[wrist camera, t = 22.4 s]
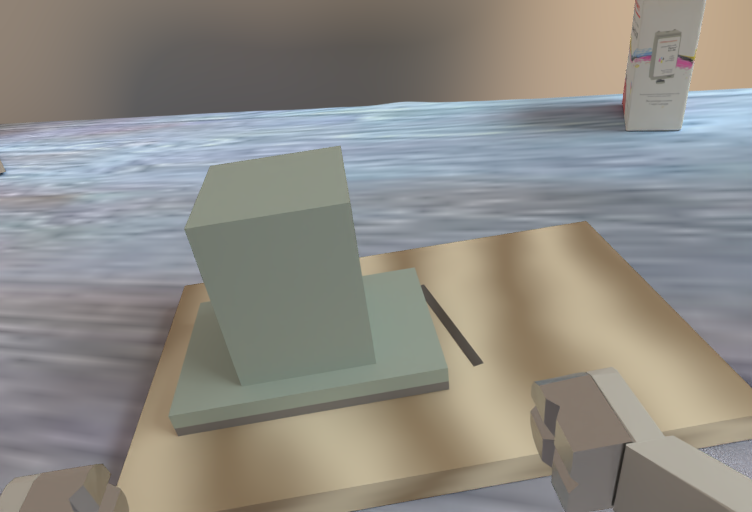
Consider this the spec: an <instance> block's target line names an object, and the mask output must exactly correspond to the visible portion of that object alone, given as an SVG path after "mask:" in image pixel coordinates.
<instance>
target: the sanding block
mask: <svg viewBox="0 0 752 512" xmlns="http://www.w3.org/2000/svg"><path fill="white" fill-rule="evenodd" d="M185 232H186V235H187V237H188V240H189V243H190V246H191V248H192V251H193V254H194V257H195V259H196V262H197V265H198V268H199V271H200V273H201V276H202V279H203V282H204V284H205V287H206V290H207V293H208V295H209V298H210V301H209V302H203V303H200V306H199V310H198V313H197V317H196V320H195V324H194V327H193V331H192V334H191V338H190V341H189V345H188V348H187V352H186V355H185V359H184V362H183V366H182V370H181V373H180V377H179V380H178V384H177V387H176V391H175V394H174V398H173V401H172V405H171V408H170V412H169V415H168V417H169V419H170V421H171V423H172V425H173V427H174V429H175V431H176V433H177V435H178V436H183V435H189V434H195V433H201V432H206V431H212V430H218V429H224V428H229V427H235V426H241V425H247V424H252V423H258V422H264V421H269V420H275V419H281V418H287V417H292V416H298V415H304V414H310V413H315V412H321V411H327V410H333V409H338V408H344V407H350V406H356V405H361V404H367V403H373V402H379V401H384V400H390V399H396V398H402V397H407V396H413V395H419V394H424V393H430V392H436V391H442V390H447V389H449V377H448V367H447V363H446V360H445V357H444V354H443V351H442V348H441V345H440V342H439V339H438V336H437V333H436V330H435V327H434V324H433V321H432V318H431V315H430V312H429V309H428V306H427V303H426V300H425V297H424V294H423V291H422V288H421V285H420V282H419V279H418V276H417V273H416V270H415V267H414V268H408V269H402V270H396V271H390V272H384V273H378V274H372V275H366V276H362V272H361V266H360V260H359V254H358V248H357V241H356V235H355V229H354V223H353V217H352V211H351V204H350V198H349V193H348V187H347V181H346V175H345V169H344V163H343V157H342V152H341V146H335V147H329V148H323V149H316V150H310V151H303V152H297V153H291V154H284V155H278V156H271V157H265V158H259V159H252V160H246V161H239V162H233V163H227V164H220V165H214V166H210V168H209V170H208V173H207V175H206V177H205V180H204V182H203V185H202V187H201V190H200V192H199V195H198V197H197V199H196V202H195V204H194V207H193V209H192V212H191V214H190V216H189V219H188V221H187V224H186V226H185Z"/></svg>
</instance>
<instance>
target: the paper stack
mask: <svg viewBox="0 0 752 512" xmlns="http://www.w3.org/2000/svg"><path fill="white" fill-rule="evenodd" d="M3 172H6V171H5V169H4V167H3V165H2V163H1V160H0V173H3Z"/></svg>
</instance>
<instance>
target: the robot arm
mask: <svg viewBox="0 0 752 512" xmlns="http://www.w3.org/2000/svg"><path fill="white" fill-rule="evenodd" d="M531 397H532V399H533V401H534V403H535V407H534V408H533V409H532V410H531V411H530V425H531V430H532V435H533V439H534V442H535V445H536V448H537V451H538V453H539V455H540V458H541V460H542V461H543V462H544V463H546V464H547V465H549V466H550V467H551V468H552V479H551V483H552V485H553V487H554V489H555V491H556V494H557V496H558V498H559V500H560V502H561V505H562V507H563V509H564V511H565V512H591V511H597V510H603V509H609V508H613V511H614V512H752V479H750V478H748V477H746V476H744V475H743V474H741V473H739V472H737V471H736V470H734V469H732V468H730V467H729V466H727V465H725V464H723V463H721V462H720V461H718V460H716V459H714V458H713V457H711V456H709V455H707V454H705V453H704V452H702V451H700V450H698V449H697V448H695V447H693V446H691V445H689V444H688V443H686V442H684V441H682V440H681V439H679V438H677V437H675V436H673V435H672V436H664V435H663V433H662V432H661V430H660V429H659V428H658V426H657V425H656V423H655V422H654V421H653V419H652V418H651V417H650V415H649V414H648V412H647V411H646V410H645V408H644V407H643V405H642V404H641V403H640V401H639V400H638V398H637V397H636V396H635V394H634V393H633V391H632V390H631V389H630V387H629V386H628V384H627V383H626V382H625V380H624V379H623V378H622V376H621V375H620V373H619V372H618V371H617V370H616V369H614V368H613V367H608V368H603V369H598V370H592V371H587V372H579V373H574V374H569V375H564V376H560V377H555V378H550V379H545V380H540V381H535V382H533V384H532V386H531ZM110 475H111V474H110V472H109V471H108V470H107V469H106V467H105V466H104V465H103V464H95V465H89V466H83V467H76V468H70V469H64V470H58V471H51V472H45V473H40V474H34V475H28V476H23V477H17V478H14V479H13V480H12V481H11V482H10V483H9V484H8V485H6V487H5V489H4V490H3V492H2V494H1V496H0V512H129V506H128V502H127V499H126V496H125V494H124V493H123V491H122V490H121V488H118V487H116V486H114V485H111V484H109V483H108V481H109V478H110Z"/></svg>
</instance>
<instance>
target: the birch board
mask: <svg viewBox="0 0 752 512" xmlns="http://www.w3.org/2000/svg"><path fill="white" fill-rule="evenodd" d="M359 260H360V266H361V272H362V276H366V275H372V274H378V273H384V272H390V271H396V270H402V269H408V268H414V267H415V270H416V273H417V276H418V279H419V282H420V285H421V288H422V291H423V294H424V297H425V300H426V303H427V306H428V309H429V312H430V315H431V318H432V321H433V324H434V327H435V330H436V333H437V336H438V339H439V342H440V345H441V348H442V351H443V354H444V357H445V360H446V363H447V367H448V377H449V389H447V390H442V391H436V392H430V393H424V394H419V395H413V396H407V397H402V398H396V399H390V400H384V401H379V402H373V403H367V404H361V405H356V406H350V407H344V408H338V409H333V410H327V411H321V412H315V413H310V414H304V415H298V416H292V417H287V418H281V419H275V420H269V421H264V422H258V423H252V424H247V425H241V426H235V427H229V428H224V429H218V430H212V431H206V432H201V433H195V434H189V435H183V436H178V435H177V433H176V431H175V429H174V427H173V425H172V423H171V421H170V419H169V417H168V415H169V412H170V408H171V405H172V401H173V398H174V394H175V391H176V387H177V384H178V380H179V377H180V373H181V370H182V366H183V362H184V359H185V355H186V352H187V348H188V345H189V341H190V338H191V334H192V331H193V327H194V324H195V320H196V317H197V313H198V310H199V306H200V303H203V302H209V301H210V298H209V295H208V293H207V290H206V287H205V284H204V283H200V284H193V285H187V286H185V287H184V290H183V293H182V296H181V299H180V302H179V305H178V307H177V310H176V313H175V316H174V319H173V322H172V325H171V328H170V331H169V334H168V337H167V340H166V343H165V346H164V349H163V351H162V354H161V357H160V360H159V363H158V366H157V369H156V372H155V375H154V378H153V381H152V384H151V387H150V390H149V393H148V395H147V398H146V401H145V404H144V407H143V410H142V413H141V416H140V419H139V422H138V425H137V428H136V431H135V434H134V437H133V439H132V442H131V445H130V448H129V451H128V454H127V457H126V460H125V463H124V466H123V469H122V472H121V475H120V478H119V481H118V483H117V486H116V487H118V488H121V490H122V491H123V493H124V494H125V496H126V499H127V502H128V506H129V512H350V511H356V510H361V509H367V508H372V507H378V506H383V505H389V504H394V503H400V502H405V501H411V500H417V499H422V498H428V497H433V496H439V495H444V494H450V493H455V492H461V491H466V490H472V489H478V488H483V487H489V486H494V485H500V484H505V483H511V482H516V481H522V480H527V479H533V478H539V477H544V476H550V475H552V468H551V467H550V466H549V465H547V464H546V463H544V462H543V461H542V460H541V458H540V455H539V453H538V451H537V448H536V445H535V442H534V439H533V435H532V430H531V425H530V411H531V410H532V409H533V408H534V407H535V403H534V401H533V399H532V397H531V386H532V384H533V382H535V381H540V380H545V379H550V378H555V377H560V376H564V375H569V374H574V373H579V372H587V371H592V370H598V369H603V368H608V367H613V368H614V369H616V370H617V371H618V372H619V373H620V375H621V376H622V378H623V379H624V380H625V382H626V383H627V384H628V386H629V387H630V389H631V390H632V391H633V393H634V394H635V396H636V397H637V398H638V400H639V401H640V403H641V404H642V405H643V407H644V408H645V410H646V411H647V412H648V414H649V415H650V417H651V418H652V419H653V421H654V422H655V423H656V425H657V426H658V428H659V429H660V430H661V432H662V433H663V435H664V436H672V435H673V436H675V437H677V438H679V439H681V440H682V441H684V442H686V443H688V444H689V445H691V446H693V447H695V448H697V449H699V448H705V447H710V446H716V445H721V444H727V443H733V442H738V441H744V440H749V439H752V388H751V387H750V386H749V385H748V384H747V383H746V382H745V381H744V380H743V379H742V378H741V377H740V376H739V375H738V374H737V373H736V372H735V371H734V370H733V369H732V368H731V367H730V366H729V365H728V364H727V363H726V362H725V361H724V360H723V359H722V358H721V357H720V356H719V355H718V354H717V353H716V352H715V351H714V350H713V349H712V348H711V347H710V346H709V345H708V344H707V343H706V342H705V341H704V340H703V339H702V338H701V337H700V336H699V335H698V334H697V333H696V332H695V331H694V330H693V328H692V327H691V326H690V325H689V324H688V323H687V322H686V321H685V320H684V319H683V318H682V317H681V316H680V315H679V314H678V313H677V312H676V311H675V310H674V309H673V308H672V307H671V306H670V305H669V304H668V303H667V302H666V301H665V300H664V299H663V298H662V297H661V296H660V295H659V294H658V293H657V292H656V291H655V290H654V289H653V288H652V287H651V286H650V285H649V284H648V283H647V282H646V281H645V280H644V279H643V278H642V277H641V276H640V275H639V274H638V273H637V272H636V271H635V270H634V269H633V268H632V267H631V266H630V265H629V264H628V263H627V262H626V261H625V260H624V259H623V258H622V257H621V256H620V255H619V254H618V253H617V252H616V251H615V250H614V249H613V248H612V247H611V246H610V245H609V244H608V243H607V242H606V241H605V240H604V239H603V238H602V237H601V236H600V235H599V234H598V233H597V232H596V231H595V230H594V229H593V228H592V227H591V226H590V225H589V224H588V222H587V221H583V222H577V223H571V224H565V225H559V226H552V227H546V228H540V229H534V230H528V231H521V232H515V233H509V234H503V235H497V236H490V237H484V238H478V239H472V240H466V241H460V242H453V243H447V244H441V245H435V246H429V247H422V248H416V249H410V250H404V251H398V252H391V253H385V254H379V255H373V256H367V257H361V258H359Z"/></svg>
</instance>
